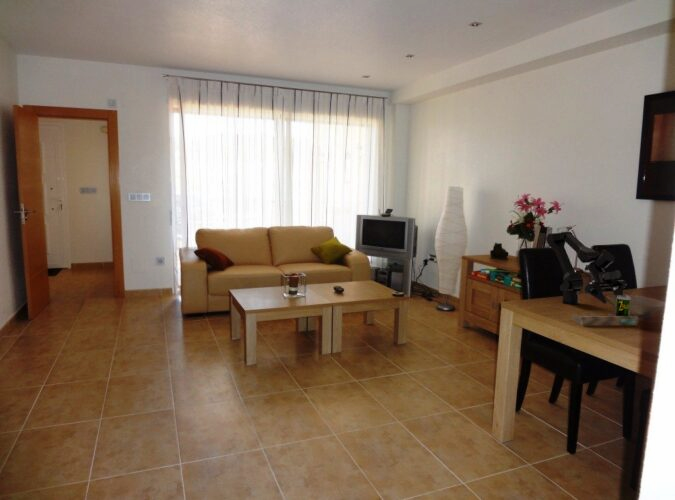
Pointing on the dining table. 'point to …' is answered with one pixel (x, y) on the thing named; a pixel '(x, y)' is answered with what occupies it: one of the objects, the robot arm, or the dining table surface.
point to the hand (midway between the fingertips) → (614, 302)
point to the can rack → (605, 320)
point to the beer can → (622, 305)
